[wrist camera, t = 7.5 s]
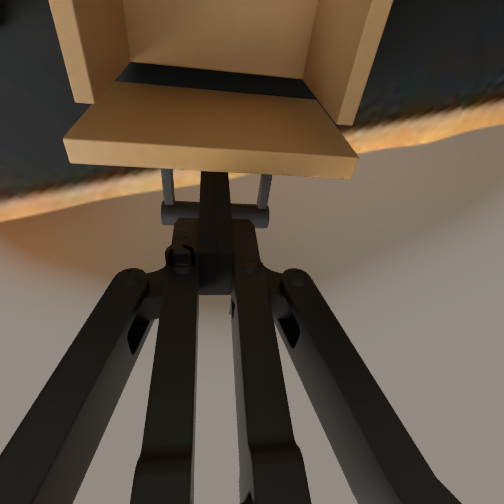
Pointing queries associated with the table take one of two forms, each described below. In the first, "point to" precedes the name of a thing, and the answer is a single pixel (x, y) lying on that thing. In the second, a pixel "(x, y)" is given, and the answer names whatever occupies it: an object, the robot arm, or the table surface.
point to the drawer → (212, 101)
